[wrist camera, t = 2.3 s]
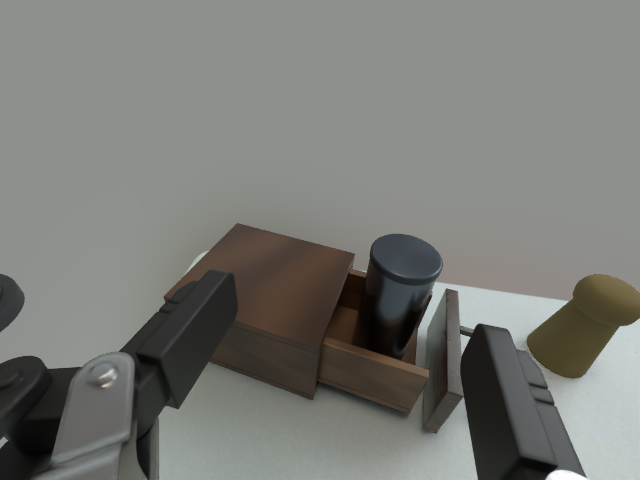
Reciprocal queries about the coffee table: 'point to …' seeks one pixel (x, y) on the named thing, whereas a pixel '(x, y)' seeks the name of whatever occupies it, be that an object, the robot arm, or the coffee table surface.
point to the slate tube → (395, 293)
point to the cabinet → (276, 304)
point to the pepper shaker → (584, 325)
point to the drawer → (391, 374)
